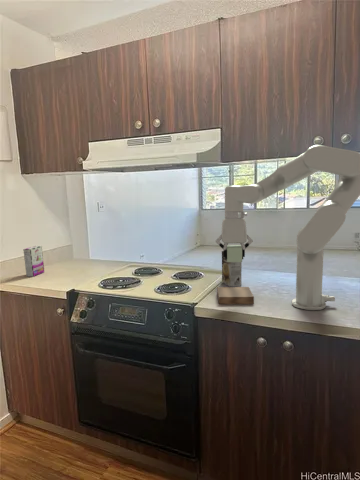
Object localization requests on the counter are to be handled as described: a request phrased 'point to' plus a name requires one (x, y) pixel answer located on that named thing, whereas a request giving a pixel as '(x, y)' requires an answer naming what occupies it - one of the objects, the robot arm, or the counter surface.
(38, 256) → the candy bar box
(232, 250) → the sage block
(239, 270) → the coffee box
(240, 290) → the walnut base
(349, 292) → the counter surface
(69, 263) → the counter surface
